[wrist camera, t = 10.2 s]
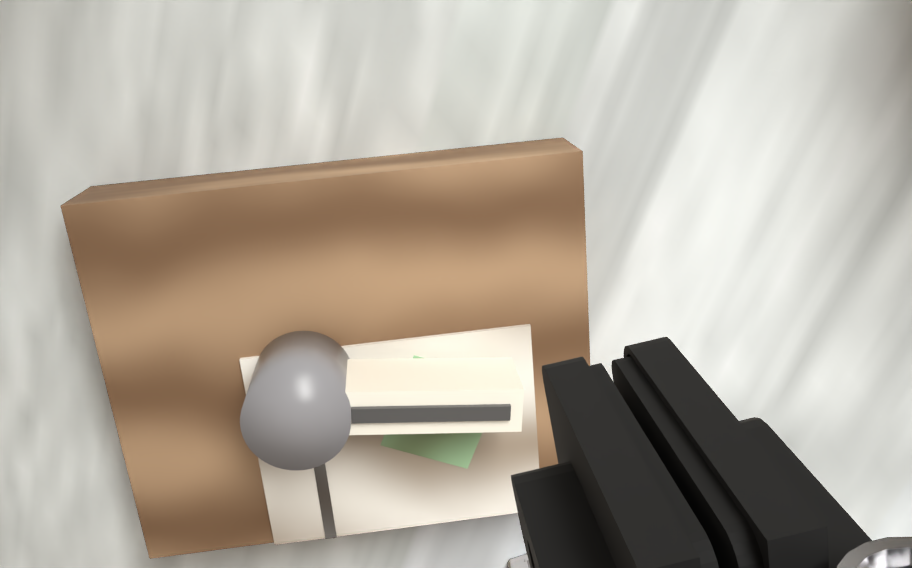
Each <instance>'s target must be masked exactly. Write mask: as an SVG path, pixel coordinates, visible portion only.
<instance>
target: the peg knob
mask: <svg viewBox="0 0 912 568" xmlns="http://www.w3.org/2000/svg"><path fill="white" fill-rule="evenodd" d="M523 400H524V388H523V385H522V383H521V380H520V378H519V375H518V373H517V370H516V367H515V365H514V362H513V360H512V357H498V358H410V359H350V358H349V356H348V354H347V353H346V351H345V350H344V349H343V348H342V347H341V346H340V345H339V344H338V343H337V342H336V341H335V340H333V339H331V338H330V337H328V336H326V335H324V334H321V333H317V332H313V331H294V332H290V333H286V334H284V335H281V336H279V337H277V338H276V339H274V340H273V341H271V342H270V343H269V344H268V345H267V346H266V347H265V348H264V349H263V351H262V352H261V354H260V356H259V358H258V360H257V363H256V366H255V370H254V373H253V376H252V379H251V382H250V385H249V388H248V391H247V394H246V397H245V400H244V403H243V406H242V410H241V414H240V428H241V432H242V436H243V438H244V440H245V443H246V444H247V446H248V447H249V449H250V450H251V451H252V452H253V453H254V454H255V455H256V456H257V457H258V458H260V459H261V460H262V461H264V462H266V463H268V464H269V465H272V466H274V467H277V468H281V469H285V470H307V469H312V468H315V467H318V466H320V465H323V464H325V463H326V462H328V461H330V460H331V459H332V458H334V457H335V456H336V455H337V454H338V453H339V452H340V451H341V449H342V448H343V447H344V445H345V443H346V441H347V439H348V437H349V435H387V434H435V433H483V432H522V416H523Z"/></svg>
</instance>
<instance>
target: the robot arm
mask: <svg viewBox="0 0 912 568" xmlns="http://www.w3.org/2000/svg"><path fill="white" fill-rule="evenodd" d="M612 374H613V381H614V383H613V381H612V379H611V378H610V376H609V374H608V373H607V371H606V370H605V368H604V366H603V365H602V364H601V363H599V364H595V365H591V366H589V365H588V364H587V362H586V360H585V359H584V357H577V358H573V359H569V360H565V361H560V362H556V363H552V364H547V365H543V366H542V376H543V383H544V388H545V393H546V399H547V404H548V410H549V415H550V421H551V426H552V432H553V437H554V443H555V448H556V453H557V459H558V464H556V465H552V466H547V467H543V468H539V469H535V470H530V471H526V472H522V473H518V474H514V475H511V481H512V487H513V492H514V497H515V501H516V506H517V511H518V516H519V520H520V525H521V530H522V534H523V538H524V543H525V547H526V551H527V555H528V559H529V564H530V568H912V537H887V538H882V539H878V540H874V541H872V540H871V539H870V538H869V537H868V536H867V535H866V533H865V532H864V531H863V530H862V529H861V528H860V527H859V526H858V524H857V523H856V522H855V521H854V520H853V519H852V518H851V517H850V516H849V514H848V513H847V512H846V511H845V510H844V509H843V508H842V507H841V506H840V504H839V503H838V502H837V501H836V500H835V499H834V498H833V497H832V496H831V494H830V493H829V492H828V491H827V490H826V489H825V488H824V487H823V486H822V484H821V483H820V482H819V481H818V480H817V479H816V478H815V477H814V476H813V474H812V473H811V472H810V471H809V470H808V469H807V468H806V467H805V466H804V464H803V463H802V462H801V461H800V460H799V459H798V458H797V457H796V456H795V454H794V453H793V452H792V451H791V450H790V449H789V448H788V447H787V446H786V444H785V443H784V442H783V441H782V440H781V439H780V438H779V437H778V436H777V434H776V433H775V432H774V431H773V430H772V429H771V428H770V427H769V426H768V424H766V423H765V422H764V421H763V420H762V419H760V418H755V417H754V418H750V419H746V420H741V421H738V420H737V418H736V417H735V416H734V415H733V414H732V413H731V411H730V410H729V409H728V408H727V407H726V405H725V404H724V403H723V402H722V401H721V399H720V398H719V397H718V396H717V395H716V394H715V392H714V391H713V390H712V389H711V388H710V386H709V385H708V384H707V383H706V382H705V380H704V379H703V378H702V377H701V376H700V375H699V373H698V372H697V371H696V370H695V369H694V367H693V366H692V365H691V364H690V363H689V361H688V360H687V359H686V358H685V357H684V356H683V354H682V353H681V352H680V351H679V350H678V348H677V347H676V346H675V345H674V344H673V342H672V341H671V340H670V339H669V338H668V337H663V338H659V339H655V340H650V341H646V342H642V343H637V344H633V345H629V346H625V348H624V358H621V359H617V360H613V361H612Z"/></svg>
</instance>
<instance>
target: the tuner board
mask: <svg viewBox="0 0 912 568" xmlns="http://www.w3.org/2000/svg"><path fill="white" fill-rule="evenodd" d="M61 209H62V213H63V217H64V221H65V225H66V229H67V233H68V237H69V241H70V245H71V249H72V253H73V257H74V261H75V265H76V269H77V273H78V277H79V281H80V285H81V289H82V293H83V297H84V301H85V305H86V308H87V312H88V316H89V320H90V324H91V328H92V332H93V336H94V340H95V344H96V348H97V352H98V356H99V360H100V364H101V368H102V372H103V376H104V380H105V384H106V388H107V392H108V396H109V400H110V404H111V408H112V411H113V415H114V419H115V423H116V427H117V431H118V435H119V439H120V443H121V447H122V451H123V455H124V459H125V463H126V467H127V471H128V475H129V479H130V483H131V487H132V491H133V495H134V499H135V503H136V507H137V510H138V514H139V518H140V522H141V526H142V530H143V534H144V538H145V542H146V546H147V550H148V554H149V558H150V559H151V558H159V557H166V556H174V555H181V554H189V553H196V552H204V551H212V550H219V549H227V548H234V547H242V546H250V545H257V544H265V543H272V542H274V544H275V545H278V544H286V543H293V542H301V541H308V540H316V539H323V538H325V539H328V538H335V537H339V536H346V535H354V534H361V533H369V532H377V531H384V530H392V529H399V528H407V527H414V526H422V525H430V524H437V523H445V522H452V521H460V520H468V519H475V518H483V517H490V516H498V515H505V514H513V513H518V511H517V506H516V501H515V497H514V492H513V487H512V481H511V475H514V474H518V473H522V472H526V471H530V470H535V469H539V468H543V467H547V466H552V465H556V464H558V459H557V453H556V448H555V443H554V437H553V432H552V426H551V421H550V415H549V410H548V404H547V399H546V393H545V388H544V383H543V376H542V366H543V365H547V364H552V363H556V362H560V361H565V360H569V359H573V358H577V357H584V359H585V360H586V362H587V364H588V365H589V366H590V347H589V319H588V291H587V263H586V235H585V207H584V178H583V151H581V150H580V149H579V148H577V147H576V146H574V145H573V144H571V143H570V142H569V141H567V140H566V139H564V138H554V139H545V140H535V141H525V142H516V143H506V144H496V145H487V146H477V147H467V148H458V149H448V150H438V151H429V152H419V153H409V154H400V155H390V156H380V157H371V158H361V159H351V160H342V161H332V162H322V163H312V164H303V165H293V166H283V167H274V168H264V169H254V170H245V171H235V172H225V173H216V174H206V175H196V176H187V177H177V178H167V179H158V180H148V181H138V182H129V183H119V184H109V185H100V186H91V187H89V188H88V189H86V190H84V191H83V192H81V193H80V194H78V195H77V196H75V197H74V198H72V199H70V200H69V201H67V202H66V203H64V204H63V205H61ZM294 331H313V332H317V333H321V334H324V335H326V336H328V337H330V338H331V339H333V340H335V341H336V342H337V343H338V344H339V345H340V346H341V347H342V348H343V349H344V350H345V351H346V353H347V354H348V356H349V358H350V359H410V358H498V357H512V360H513V362H514V365H515V367H516V370H517V373H518V375H519V378H520V380H521V383H522V385H523V388H524V400H523V416H522V432H483V433H435V434H387V435H349V437H348V439H347V441H346V443H345V445H344V447H343V448H342V449H341V451H340V452H339V453H338V454H337V455H336V456H335V457H334V458H332V459H331V460H330V461H328V462H326V463H325V464H323V465H320V466H318V467H315V468H312V469H307V470H285V469H281V468H277V467H274V466H272V465H269V464H268V463H266V462H264V461H262V460H261V459H260V458H258V457H257V456H256V455H255V454H254V453H253V452H252V451H251V450H250V449H249V447H248V446H247V444H246V443H245V440H244V438H243V436H242V432H241V428H240V414H241V410H242V406H243V403H244V400H245V397H246V394H247V391H248V388H249V385H250V382H251V379H252V376H253V373H254V370H255V366H256V363H257V360H258V358H259V356H260V354H261V352H262V351H263V349H264V348H265V347H266V346H267V345H268V344H269V343H270V342H271V341H273V340H274V339H276V338H277V337H279V336H281V335H284V334H286V333H290V332H294Z"/></svg>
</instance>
